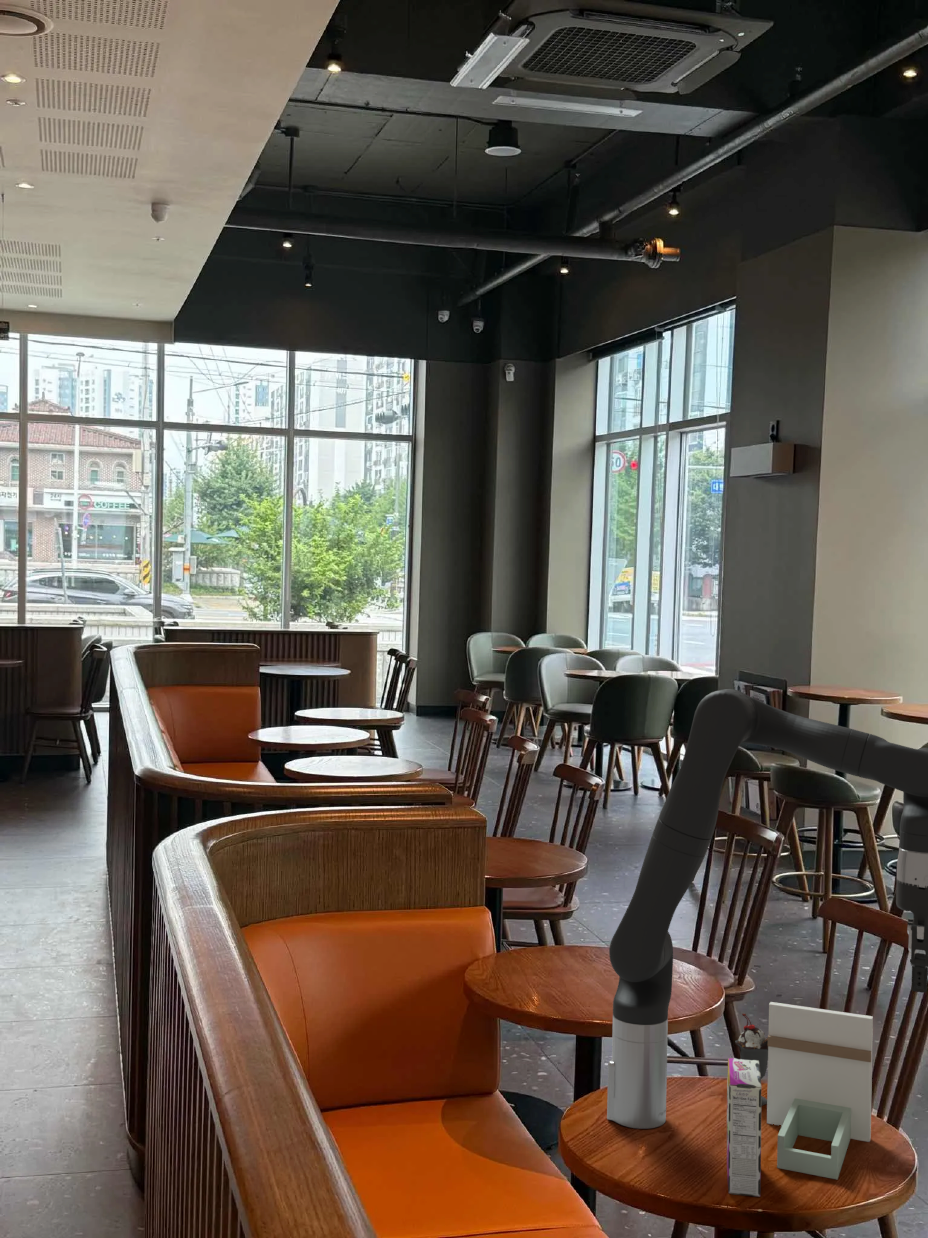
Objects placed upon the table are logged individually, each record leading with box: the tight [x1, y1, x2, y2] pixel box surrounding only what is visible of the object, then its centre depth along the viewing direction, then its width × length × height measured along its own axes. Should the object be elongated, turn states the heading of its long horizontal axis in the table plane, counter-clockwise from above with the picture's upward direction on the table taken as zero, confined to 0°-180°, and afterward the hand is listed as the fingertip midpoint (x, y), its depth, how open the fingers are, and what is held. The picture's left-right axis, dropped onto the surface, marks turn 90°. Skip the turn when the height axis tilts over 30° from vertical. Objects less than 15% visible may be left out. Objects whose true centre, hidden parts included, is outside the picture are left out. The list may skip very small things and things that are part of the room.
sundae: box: [734, 1013, 768, 1107], centre depth 215 cm, size 7×7×15 cm
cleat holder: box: [766, 1001, 874, 1181], centre depth 195 cm, size 16×18×20 cm
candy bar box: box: [726, 1057, 762, 1198], centre depth 184 cm, size 11×5×16 cm, turn 168°
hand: (919, 984), depth 188 cm, fingers open, 8 cm apart
